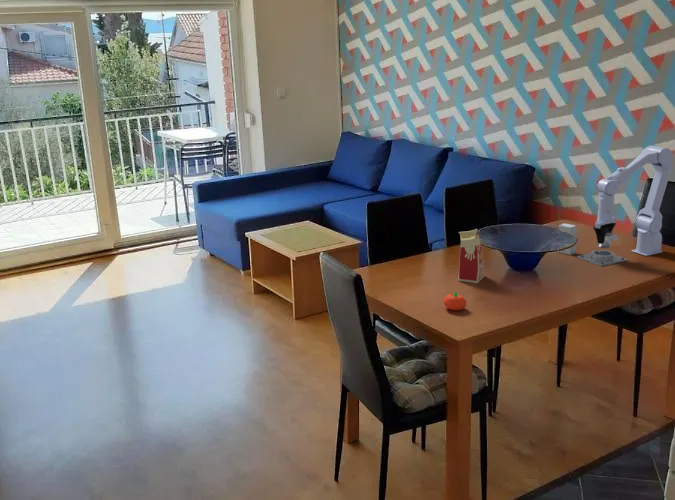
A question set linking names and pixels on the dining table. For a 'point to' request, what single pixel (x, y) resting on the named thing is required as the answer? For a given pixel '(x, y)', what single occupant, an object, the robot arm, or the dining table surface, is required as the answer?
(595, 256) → the duct flange
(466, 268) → the milk carton
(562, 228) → the skincare box
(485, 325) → the dining table surface
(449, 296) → the pumpkin
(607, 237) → the cylinder with square knob
